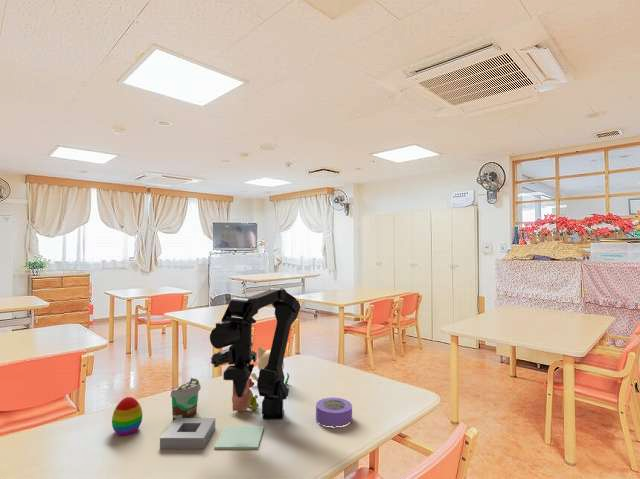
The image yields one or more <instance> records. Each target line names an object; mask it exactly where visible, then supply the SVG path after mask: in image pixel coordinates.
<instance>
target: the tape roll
mask: <svg viewBox="0 0 640 479" xmlns="http://www.w3.org/2000/svg"><path fill="white" fill-rule="evenodd" d="M316 420H317V421H318V422H319V423H320V424H322V425H325V426H333V427H336V426H343V425H346V424H348V423H349V422H351V420H352V421H353V404H352V403H351V402H350V401H349V400H347V399H344V398H341V397H324V398H321V399H319V400H318V401H316V405H315V421H316ZM317 421H316V422H317ZM351 423H352V422H351ZM320 424H319V425H320ZM322 425H321V426H322Z"/></svg>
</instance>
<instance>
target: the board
mask: <svg viewBox="0 0 640 479" xmlns="http://www.w3.org/2000/svg"><path fill="white" fill-rule="evenodd" d="M264 428H265V426H264V425H224V426H223V429H222V430H221V433H220V435H219V437H218V439H217V441H216V443H215V445H214V448H213V449H214V450H258V449H259V448H260V447H259V446H260V442H261V439H262V435H263V432H264Z"/></svg>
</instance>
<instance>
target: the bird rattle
mask: <svg viewBox="0 0 640 479" xmlns="http://www.w3.org/2000/svg"><path fill="white" fill-rule="evenodd" d="M252 379H253V378H252V377H250V378H249V406H248V408H249V407H251V410H253V411H255V410H256V409H257V408H259V407H260V406H259V403H258V402H257V399H258V397H259V396H258V394H253V392H252V390H251V389H250V388H253V387H254V385H255V382H254V381H253V380H252ZM231 403H232V404H233V395H232V396H231Z"/></svg>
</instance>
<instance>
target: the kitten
mask: <svg viewBox="0 0 640 479" xmlns="http://www.w3.org/2000/svg"><path fill="white" fill-rule="evenodd" d="M270 351H271V349H266V348H263V347H262V346H258V348H257V359H258V360H257V368H258V369H257V370H259V371H260V370H261V369H264V368H265V367H266V366H267V364H268V360H269V355H270ZM284 363H285V362H284V361H283V364H282V370H283V371H284V367H285V364H284ZM286 376H287V378H286V380H284V384H286V386H288V384H289V383H288V382H289V379H290V374H289V372H286ZM258 377H259V376H257V374H256V372H252V373H251V375H250V378H251V379H253V380H255V381H256V382H257V380H258ZM287 383H288V384H287Z"/></svg>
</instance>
